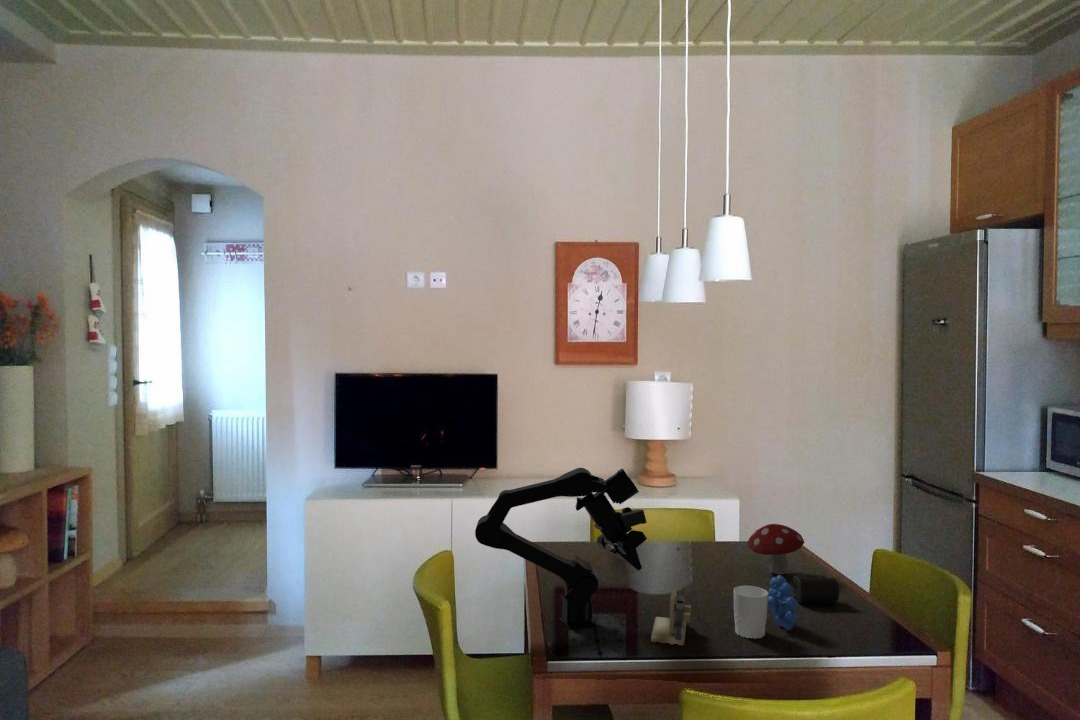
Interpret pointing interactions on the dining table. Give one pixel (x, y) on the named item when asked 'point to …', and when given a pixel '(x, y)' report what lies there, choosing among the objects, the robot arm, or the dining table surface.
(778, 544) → the decorative mushroom
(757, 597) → the white cup
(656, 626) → the birch board
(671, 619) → the tan notched block
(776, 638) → the dining table surface
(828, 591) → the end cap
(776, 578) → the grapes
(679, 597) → the grey two-prong bracket
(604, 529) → the robot arm
